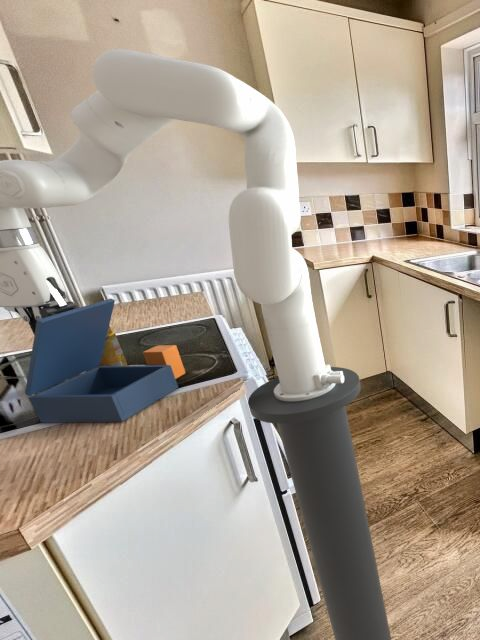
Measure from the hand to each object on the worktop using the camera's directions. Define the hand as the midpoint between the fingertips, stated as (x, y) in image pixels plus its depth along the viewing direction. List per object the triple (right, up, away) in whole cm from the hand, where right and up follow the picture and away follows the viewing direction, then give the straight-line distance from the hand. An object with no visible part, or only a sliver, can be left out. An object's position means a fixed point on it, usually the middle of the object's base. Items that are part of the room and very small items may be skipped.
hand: (50, 339), depth 79 cm
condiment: (-6, -8, +19) cm, 22 cm away
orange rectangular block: (+10, -8, +16) cm, 20 cm away
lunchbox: (+8, -13, +5) cm, 16 cm away
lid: (+4, -1, 0) cm, 4 cm away
